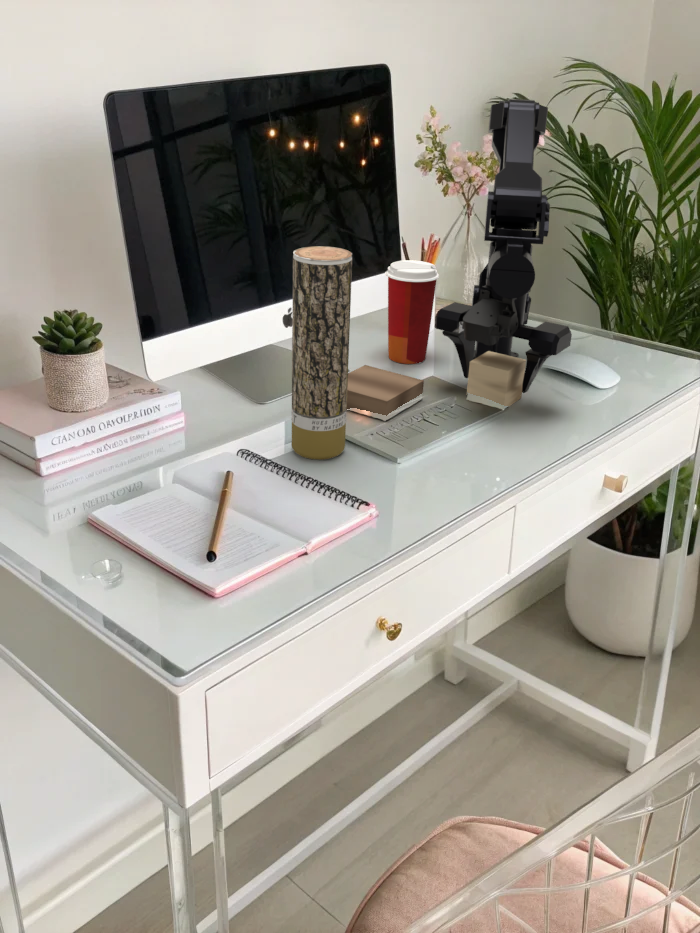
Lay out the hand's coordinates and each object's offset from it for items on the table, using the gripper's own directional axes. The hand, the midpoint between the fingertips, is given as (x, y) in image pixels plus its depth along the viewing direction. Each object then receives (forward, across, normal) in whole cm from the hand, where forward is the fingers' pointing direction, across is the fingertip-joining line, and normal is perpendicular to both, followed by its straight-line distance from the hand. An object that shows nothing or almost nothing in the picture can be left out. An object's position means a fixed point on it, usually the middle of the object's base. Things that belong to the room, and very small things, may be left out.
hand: (495, 384), depth 133 cm
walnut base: (+2, -13, -12) cm, 18 cm away
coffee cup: (+2, -19, +7) cm, 20 cm away
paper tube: (+2, -10, -30) cm, 32 cm away
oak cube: (+2, 0, 0) cm, 2 cm away
